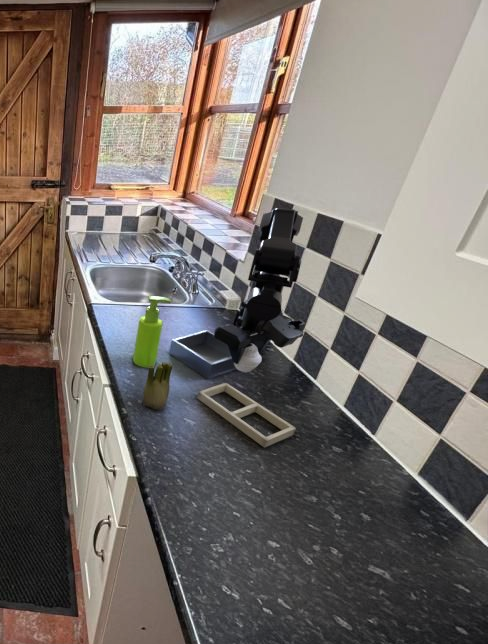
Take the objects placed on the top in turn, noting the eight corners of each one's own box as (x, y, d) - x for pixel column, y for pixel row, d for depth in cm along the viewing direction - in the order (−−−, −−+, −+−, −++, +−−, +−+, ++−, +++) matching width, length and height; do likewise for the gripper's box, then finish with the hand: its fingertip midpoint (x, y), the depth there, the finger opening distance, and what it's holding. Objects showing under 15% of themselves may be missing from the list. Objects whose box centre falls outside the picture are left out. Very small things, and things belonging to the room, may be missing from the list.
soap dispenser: (160, 369, 111) (173, 303, 102) (134, 366, 112) (144, 301, 103) (157, 357, 116) (168, 294, 107) (131, 354, 117) (141, 292, 109)
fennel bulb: (141, 409, 96) (148, 367, 91) (140, 396, 100) (148, 355, 95) (167, 414, 95) (176, 371, 89) (165, 400, 99) (174, 359, 94)
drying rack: (223, 388, 102) (225, 382, 102) (293, 435, 88) (296, 428, 87) (197, 398, 99) (198, 391, 99) (264, 447, 85) (267, 440, 84)
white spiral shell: (263, 372, 95) (272, 347, 92) (245, 379, 93) (253, 353, 90) (239, 358, 100) (246, 334, 97) (222, 364, 98) (228, 340, 95)
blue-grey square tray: (203, 343, 122) (207, 329, 120) (244, 367, 111) (249, 352, 109) (169, 353, 118) (171, 339, 116) (208, 379, 106) (211, 364, 104)
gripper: (268, 327, 79) (248, 390, 86) (329, 307, 85) (306, 368, 92) (219, 303, 88) (205, 362, 95) (277, 287, 95) (260, 344, 101)
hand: (245, 359), depth 96 cm, fingers closed on white spiral shell, 6 cm apart
